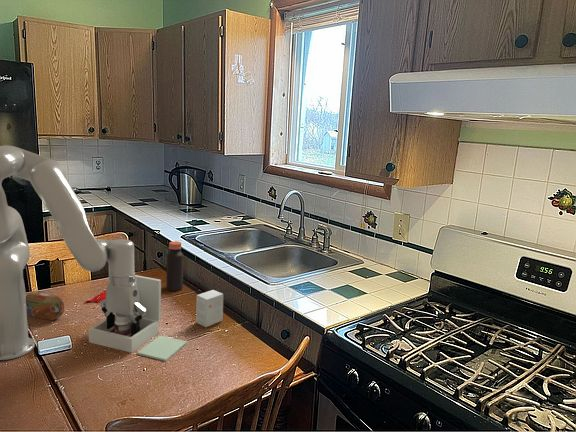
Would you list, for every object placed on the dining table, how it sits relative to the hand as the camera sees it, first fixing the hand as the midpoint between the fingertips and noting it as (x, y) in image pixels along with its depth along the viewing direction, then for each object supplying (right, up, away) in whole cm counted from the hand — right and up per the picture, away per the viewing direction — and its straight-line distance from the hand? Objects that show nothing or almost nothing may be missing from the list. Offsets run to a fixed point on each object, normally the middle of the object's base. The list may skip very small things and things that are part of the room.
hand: (123, 329), depth 141 cm
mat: (+14, -5, -4) cm, 15 cm away
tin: (-32, +1, +12) cm, 34 cm away
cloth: (-16, +4, +35) cm, 39 cm away
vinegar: (+5, +6, +45) cm, 46 cm away
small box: (+25, -2, +17) cm, 30 cm away
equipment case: (0, -3, +2) cm, 3 cm away
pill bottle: (0, -3, +1) cm, 3 cm away
